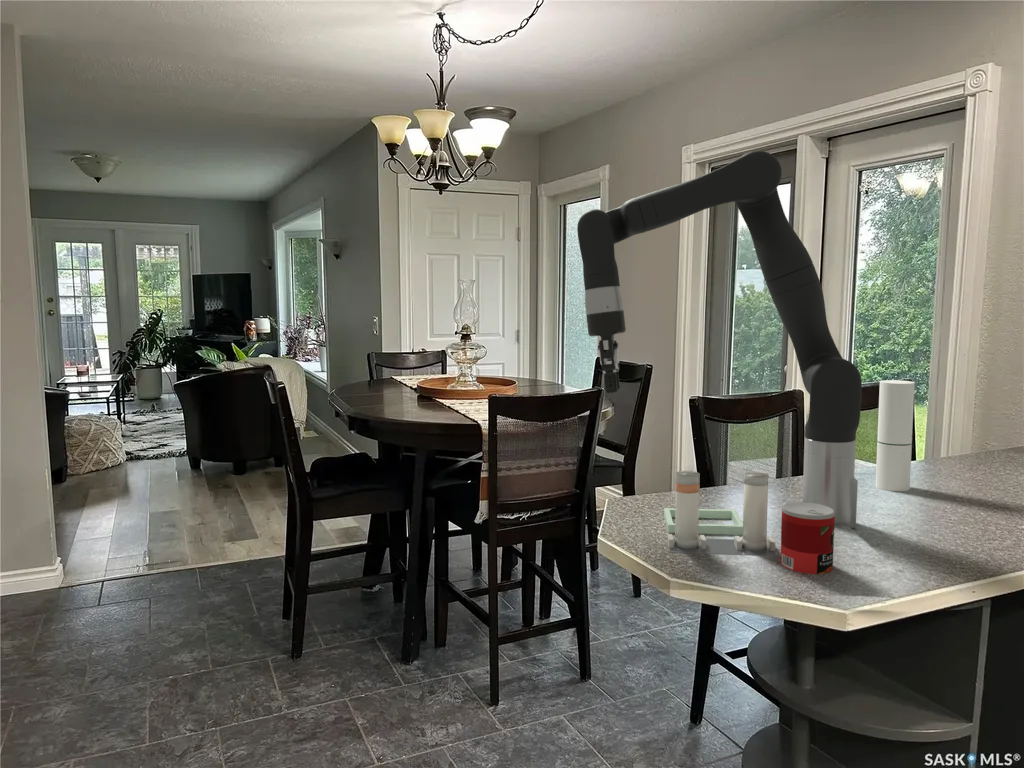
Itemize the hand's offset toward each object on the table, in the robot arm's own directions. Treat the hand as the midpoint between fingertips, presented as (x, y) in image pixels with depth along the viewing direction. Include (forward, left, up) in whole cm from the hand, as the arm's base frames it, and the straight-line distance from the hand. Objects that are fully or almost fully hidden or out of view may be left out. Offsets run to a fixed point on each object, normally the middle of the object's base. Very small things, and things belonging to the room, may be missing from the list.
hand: (613, 391), depth 148 cm
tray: (-17, +7, -27) cm, 32 cm away
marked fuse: (-13, +19, -25) cm, 34 cm away
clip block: (-19, +19, -27) cm, 38 cm away
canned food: (-31, +27, -27) cm, 49 cm away
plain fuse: (-24, +19, -25) cm, 40 cm away
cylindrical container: (-65, -31, -27) cm, 77 cm away
